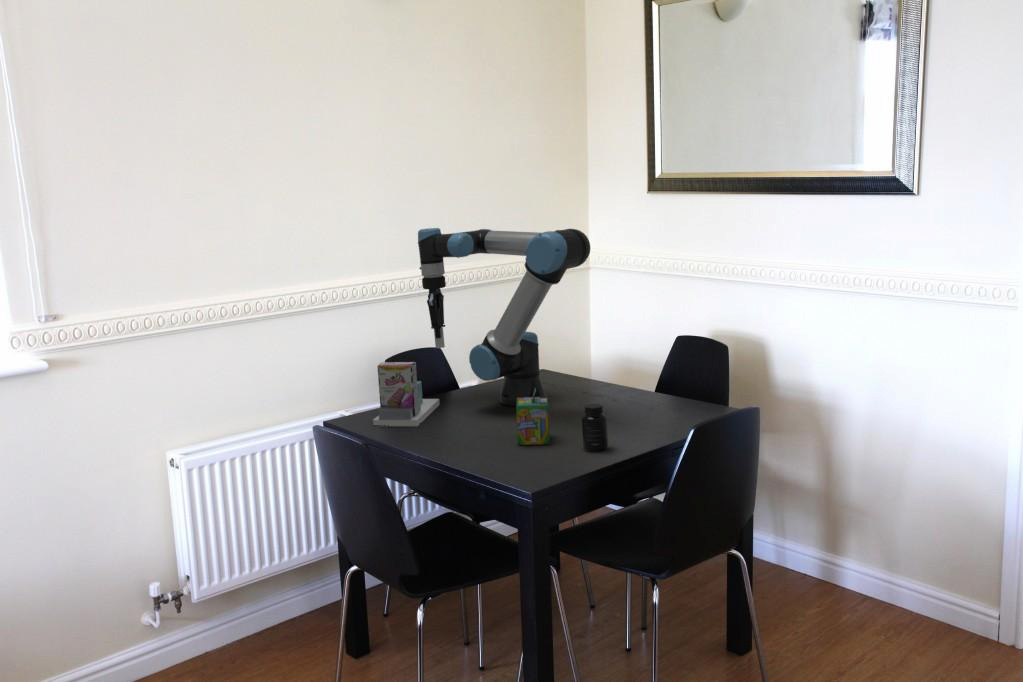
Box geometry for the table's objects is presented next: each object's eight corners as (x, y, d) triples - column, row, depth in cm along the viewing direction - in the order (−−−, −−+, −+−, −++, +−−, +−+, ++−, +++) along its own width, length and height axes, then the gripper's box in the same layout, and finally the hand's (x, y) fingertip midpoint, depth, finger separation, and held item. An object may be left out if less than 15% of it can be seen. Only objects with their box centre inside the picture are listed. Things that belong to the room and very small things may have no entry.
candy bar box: (380, 417, 286) (376, 365, 283) (385, 413, 291) (381, 361, 288) (415, 417, 284) (411, 364, 281) (419, 412, 289) (416, 361, 286)
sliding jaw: (399, 402, 303) (397, 381, 301) (428, 402, 301) (427, 381, 300) (387, 412, 291) (385, 390, 290) (418, 412, 289) (416, 390, 288)
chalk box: (517, 436, 266) (515, 386, 263) (550, 435, 266) (547, 384, 263) (517, 446, 257) (514, 394, 254) (550, 444, 256) (548, 392, 254)
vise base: (398, 404, 309) (397, 388, 308) (439, 404, 306) (438, 388, 305) (373, 426, 284) (372, 408, 283) (417, 426, 282) (416, 408, 281)
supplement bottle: (583, 445, 255) (581, 402, 252) (608, 444, 254) (606, 402, 252) (582, 452, 248) (580, 409, 246) (608, 452, 247) (606, 408, 245)
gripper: (427, 274, 309) (434, 344, 313) (416, 279, 297) (424, 351, 300) (449, 273, 308) (455, 343, 312) (439, 277, 295) (446, 350, 299)
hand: (440, 347), depth 306 cm, fingers closed
